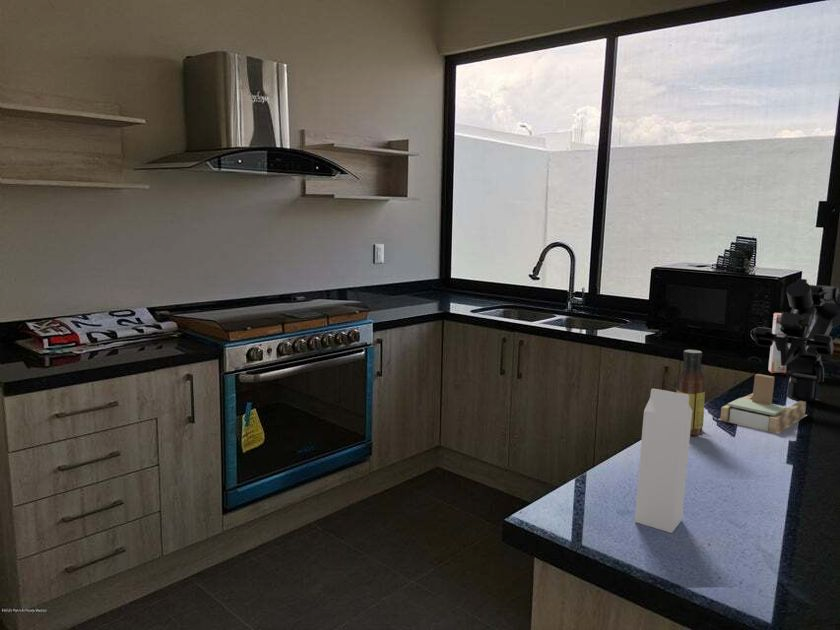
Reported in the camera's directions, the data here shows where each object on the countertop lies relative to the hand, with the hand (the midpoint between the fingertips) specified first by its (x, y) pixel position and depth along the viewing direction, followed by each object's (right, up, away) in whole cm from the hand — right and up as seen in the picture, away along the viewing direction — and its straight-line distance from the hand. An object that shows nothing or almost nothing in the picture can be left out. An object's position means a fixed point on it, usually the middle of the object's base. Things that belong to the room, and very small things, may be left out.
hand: (782, 364), depth 170 cm
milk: (-58, -21, -65) cm, 90 cm away
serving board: (-9, -14, -6) cm, 17 cm away
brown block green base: (-13, -10, -11) cm, 19 cm away
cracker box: (+32, -7, +51) cm, 60 cm away
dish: (-13, -13, -11) cm, 22 cm away
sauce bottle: (-33, -15, -18) cm, 41 cm away
